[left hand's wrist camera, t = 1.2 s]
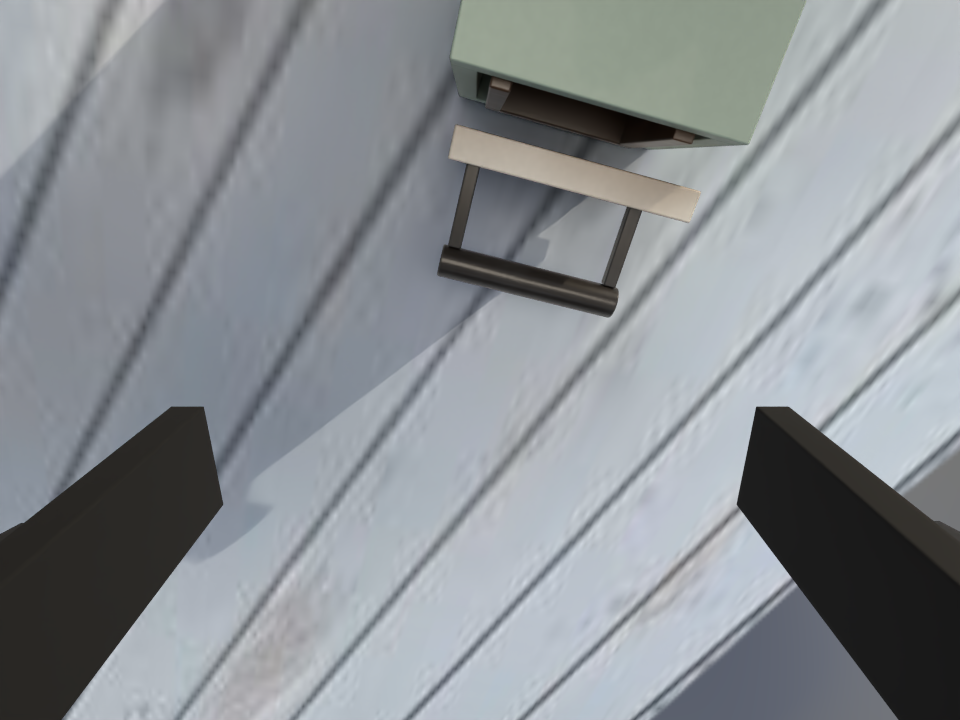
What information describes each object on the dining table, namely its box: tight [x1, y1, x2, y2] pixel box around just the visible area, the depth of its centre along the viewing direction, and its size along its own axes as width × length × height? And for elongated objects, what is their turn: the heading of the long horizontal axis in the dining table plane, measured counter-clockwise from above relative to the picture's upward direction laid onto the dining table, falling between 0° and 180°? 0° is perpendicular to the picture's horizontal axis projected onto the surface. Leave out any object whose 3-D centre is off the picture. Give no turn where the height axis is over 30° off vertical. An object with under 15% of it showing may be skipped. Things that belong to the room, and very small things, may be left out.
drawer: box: [437, 76, 701, 317], centre depth 22 cm, size 24×10×9 cm, turn 166°
